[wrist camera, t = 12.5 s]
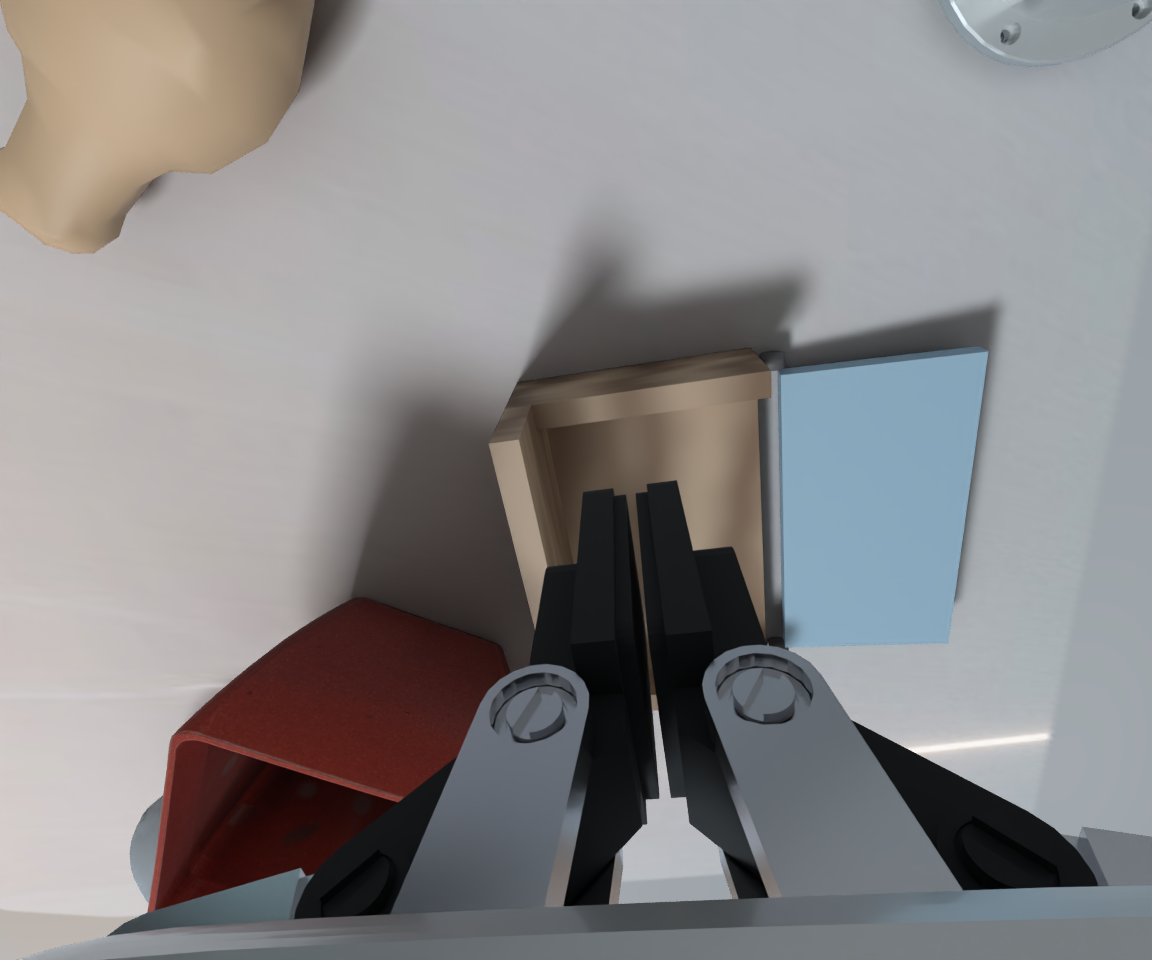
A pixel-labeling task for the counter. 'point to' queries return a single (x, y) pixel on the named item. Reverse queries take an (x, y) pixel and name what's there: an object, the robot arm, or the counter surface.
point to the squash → (139, 102)
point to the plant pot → (314, 746)
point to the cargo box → (637, 458)
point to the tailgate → (875, 495)
